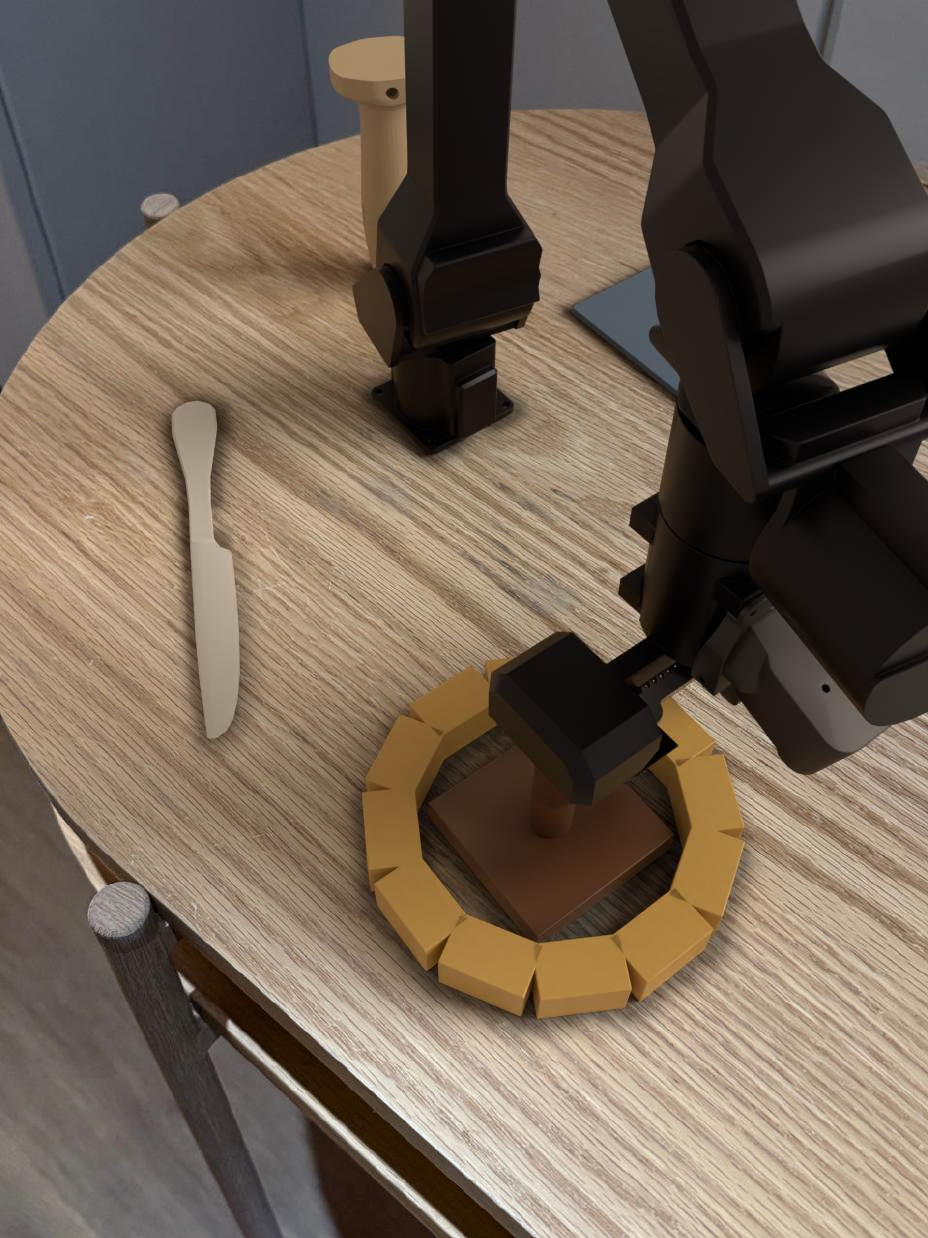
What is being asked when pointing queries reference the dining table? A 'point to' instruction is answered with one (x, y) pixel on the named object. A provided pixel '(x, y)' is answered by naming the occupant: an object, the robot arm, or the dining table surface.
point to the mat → (630, 324)
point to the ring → (508, 961)
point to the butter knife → (209, 571)
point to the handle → (375, 119)
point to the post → (545, 842)
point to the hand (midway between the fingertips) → (675, 736)
